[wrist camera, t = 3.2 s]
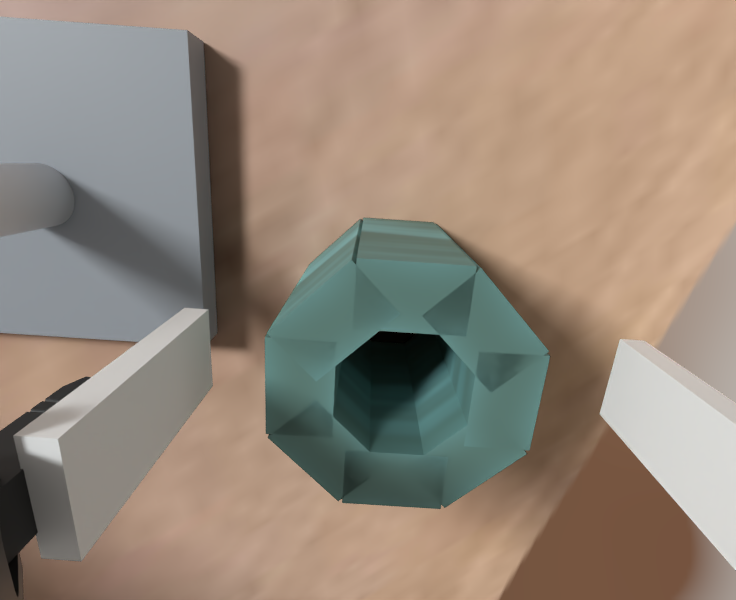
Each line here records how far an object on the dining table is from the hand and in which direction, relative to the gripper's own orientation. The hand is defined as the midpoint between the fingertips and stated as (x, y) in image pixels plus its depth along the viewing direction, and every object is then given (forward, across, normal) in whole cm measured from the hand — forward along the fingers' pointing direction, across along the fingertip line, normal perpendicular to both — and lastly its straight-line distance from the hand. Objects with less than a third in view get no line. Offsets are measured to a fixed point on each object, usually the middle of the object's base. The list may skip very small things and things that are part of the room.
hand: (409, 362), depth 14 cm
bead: (+6, 0, 0) cm, 6 cm away
